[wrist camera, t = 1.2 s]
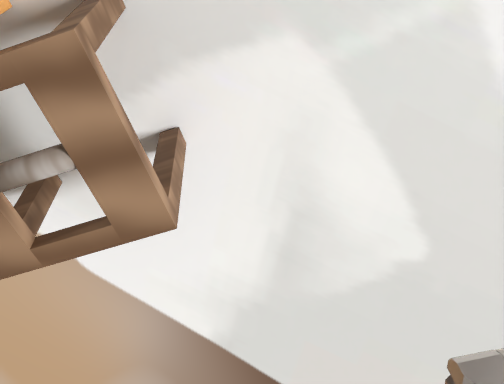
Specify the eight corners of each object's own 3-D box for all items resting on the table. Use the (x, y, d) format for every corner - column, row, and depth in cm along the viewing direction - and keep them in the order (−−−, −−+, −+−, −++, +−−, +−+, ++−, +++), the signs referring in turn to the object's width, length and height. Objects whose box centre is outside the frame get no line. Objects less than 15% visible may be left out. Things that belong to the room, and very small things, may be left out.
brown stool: (-53, 44, 42) (-157, 109, 30) (115, -17, 40) (73, 29, 28) (45, 187, 50) (-7, 281, 39) (186, 143, 49) (176, 228, 37)
